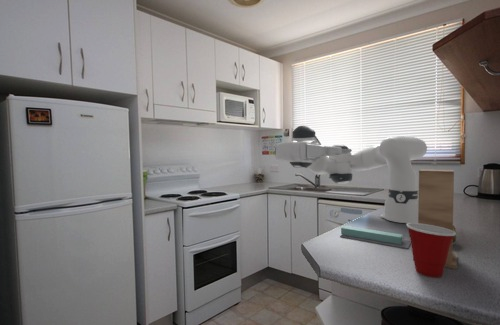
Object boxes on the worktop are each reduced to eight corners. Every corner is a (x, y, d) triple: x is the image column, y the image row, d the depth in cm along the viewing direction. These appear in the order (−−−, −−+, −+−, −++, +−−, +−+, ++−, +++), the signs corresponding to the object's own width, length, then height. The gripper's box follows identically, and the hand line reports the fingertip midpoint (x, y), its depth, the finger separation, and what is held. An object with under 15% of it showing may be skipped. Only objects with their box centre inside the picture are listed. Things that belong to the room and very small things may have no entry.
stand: (417, 249, 87) (418, 169, 87) (456, 256, 81) (458, 169, 81) (413, 260, 78) (414, 170, 78) (456, 269, 72) (458, 171, 72)
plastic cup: (467, 281, 65) (468, 232, 65) (424, 283, 65) (425, 233, 64) (433, 263, 76) (434, 221, 76) (396, 264, 75) (397, 221, 75)
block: (344, 231, 107) (344, 225, 107) (402, 241, 95) (402, 234, 95) (341, 234, 103) (341, 227, 103) (400, 244, 91) (400, 237, 91)
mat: (347, 231, 108) (347, 230, 108) (411, 242, 95) (411, 240, 95) (340, 237, 101) (340, 235, 101) (408, 249, 88) (408, 248, 88)
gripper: (321, 158, 117) (354, 159, 109) (299, 159, 101) (336, 159, 93) (321, 144, 117) (354, 143, 109) (299, 142, 101) (336, 141, 93)
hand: (345, 151), depth 101 cm, fingers open, 8 cm apart
